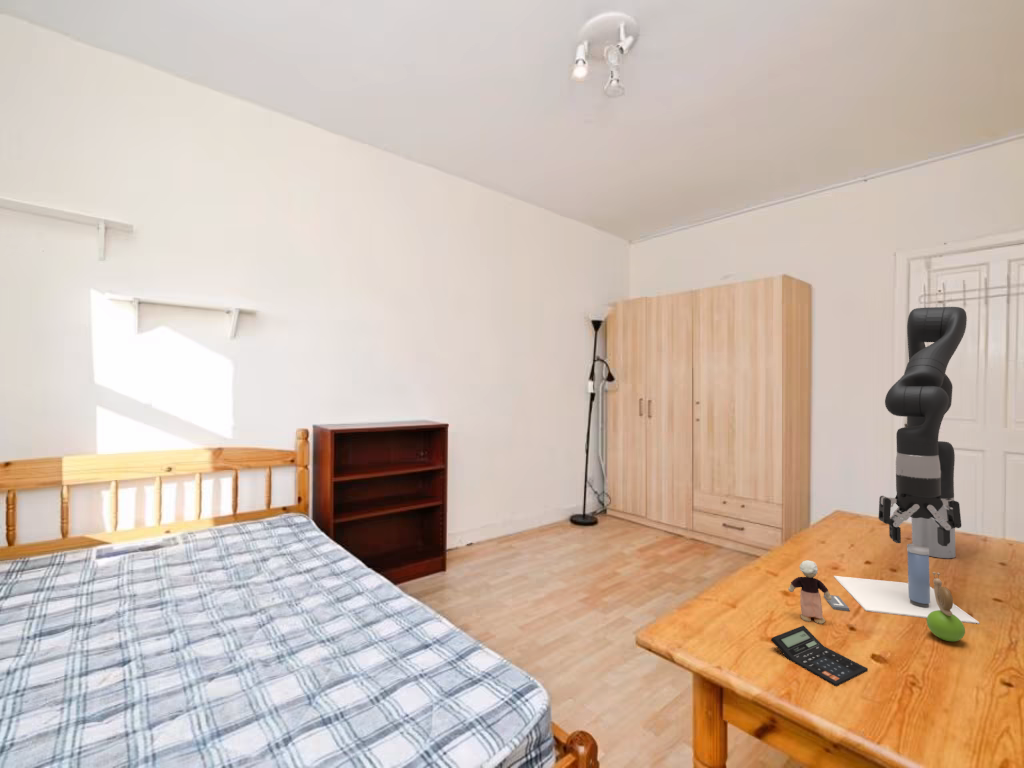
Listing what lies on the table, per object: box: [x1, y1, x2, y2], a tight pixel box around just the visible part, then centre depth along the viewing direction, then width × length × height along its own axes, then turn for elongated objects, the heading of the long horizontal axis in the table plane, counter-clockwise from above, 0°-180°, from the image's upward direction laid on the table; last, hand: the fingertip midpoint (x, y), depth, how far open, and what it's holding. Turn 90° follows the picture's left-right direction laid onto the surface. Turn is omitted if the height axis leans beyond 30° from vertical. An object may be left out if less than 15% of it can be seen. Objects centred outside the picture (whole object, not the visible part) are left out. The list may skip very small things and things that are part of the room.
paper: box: [833, 575, 980, 625], centre depth 103 cm, size 18×20×1 cm
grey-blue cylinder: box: [906, 543, 931, 608], centre depth 100 cm, size 4×4×13 cm
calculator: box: [770, 625, 868, 687], centre depth 81 cm, size 9×12×3 cm
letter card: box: [823, 594, 850, 612], centre depth 101 cm, size 6×3×1 cm, turn 162°
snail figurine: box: [926, 571, 966, 642], centre depth 87 cm, size 5×6×12 cm
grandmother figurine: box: [788, 559, 832, 624], centre depth 95 cm, size 8×4×13 cm, turn 71°
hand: (919, 543), depth 100 cm, fingers open, 8 cm apart
